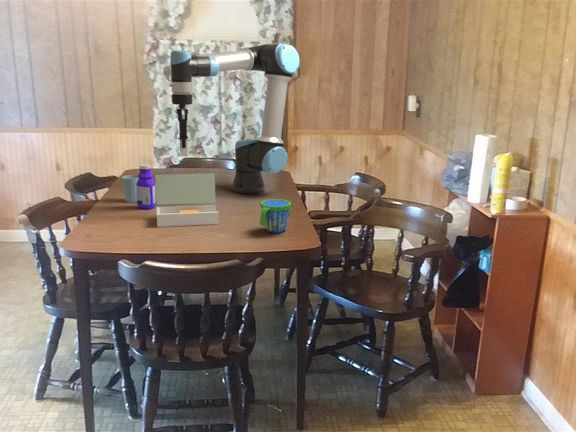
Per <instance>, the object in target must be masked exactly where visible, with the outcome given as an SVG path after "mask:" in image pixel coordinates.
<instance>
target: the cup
mask: <svg viewBox="0 0 576 432" xmlns="http://www.w3.org/2000/svg"><path fill="white" fill-rule="evenodd" d="M138 175H139V174H129V175H122V177H121V182H122V186H123V187H122V188H123V193H124V199H125V202H126V203H137V181H138V179H139V177H138Z"/></svg>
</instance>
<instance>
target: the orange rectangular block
mask: <svg viewBox="0 0 576 432" xmlns="http://www.w3.org/2000/svg"><path fill="white" fill-rule="evenodd" d="M192 212H199V210H180V212H179V213H192Z"/></svg>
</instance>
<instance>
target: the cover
mask: <svg viewBox="0 0 576 432" xmlns="http://www.w3.org/2000/svg"><path fill="white" fill-rule="evenodd" d="M154 176H155V177H154V182H155V196H156V207H157V206H179V205H204V204H216V201H217V200H216V181H215V180H216V177H215V176H216V175H215V173H214V172H213V173H212V172H210V173H209V172H208V173H179V174H178V173H176V174H175V173H173V174H155V175H154ZM216 205H217V204H216Z"/></svg>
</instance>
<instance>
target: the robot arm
mask: <svg viewBox="0 0 576 432" xmlns="http://www.w3.org/2000/svg"><path fill="white" fill-rule="evenodd" d="M169 58H170V59H169V60H170V62H169V65H170V76H171V77H170V81H171V83H170V84H169V87H170V88H171V93H172V94H171V103H172V105H177V106H178V108H177V109H176V113H177V120H178V125H179V126H178V127H179V131H178V132H179V137H178V138H177V139H178V140H179V155H180V157H188V139H189V136H188V129H187V128H188V127H187V126H188V114H189V109H188V108H186V105H187V106H189V105H192V104H193V95H192V92H193V82H192V81H193V79H192V78H196V77H197V78H211V77H212V78H213V77H216V76H217V75H218V74H219V72H228V71H238V70H244V71H247V72H248V71H257V72H264V77H265V78H266V79H267V81H266V82H267V83H266V92H265V99H264V100H265V101H264V108H263V118H262V123H261V124H262V125H261V133H260V134H261V135H260V136H259V137H258V138H254V139H253V138H251V139H242V140H237V141H236V142H235V148H234V152H235V153H234V156H235V157H234V158H235V163H234V164H235V175H234V178H233V181H232V183H231V191H232V192H234V193H235V192H236V193H241V194H257V193H261V192H265V190H266V184H265V180H264V177H263V174H262V171H263V172H265V173H266V174H267V173H270V174H276V173H279V172H281V171H282V170H283V169H284V167H285V166H286V164H287V161H288V152H287V150H286V149H285V148H284V143H285V142H284V141H283V139H282V130H283V123H284V116H285V107H286V100H287V99H286V97H287V91H288V84H289V82H290V81H291V80H292V79H293V74H294V73H296V72H297V70H298V69H299V66H300V56H299V53H298V52H297V50H296V48H295V47H294V46H293V45H290V44H285V43H273V44H272V43H266V44H259V45H255V46H250V47H244V48H242V49H241V50H235V51H223V52H210V53H202V54H193V55H192V52H191V51H190V50H172V51H171V52H170V56H169Z"/></svg>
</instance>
